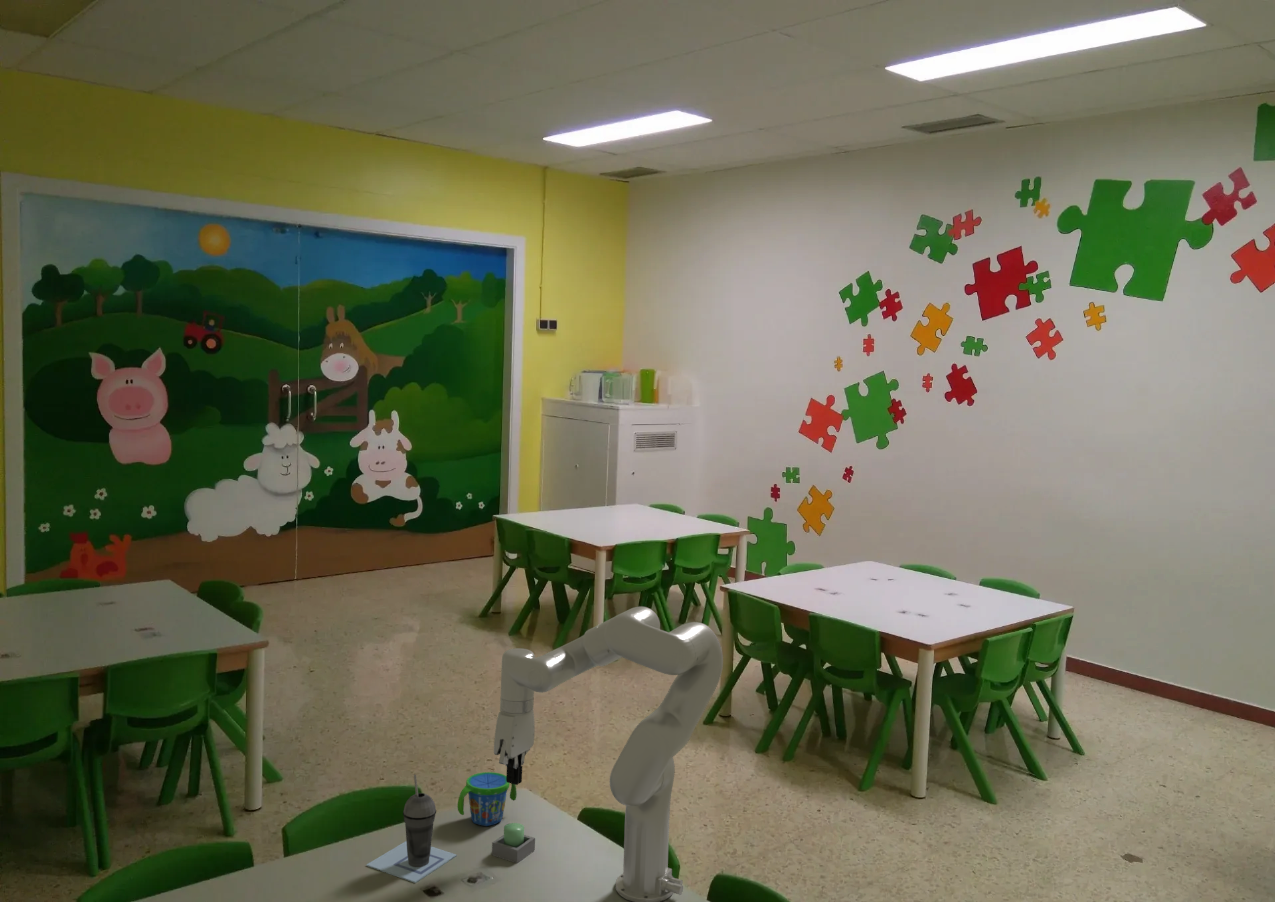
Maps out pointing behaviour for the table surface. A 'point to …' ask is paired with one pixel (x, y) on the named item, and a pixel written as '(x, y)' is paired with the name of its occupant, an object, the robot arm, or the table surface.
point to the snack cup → (486, 797)
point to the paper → (399, 866)
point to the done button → (514, 834)
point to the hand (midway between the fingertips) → (513, 782)
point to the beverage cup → (419, 827)
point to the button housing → (513, 849)
